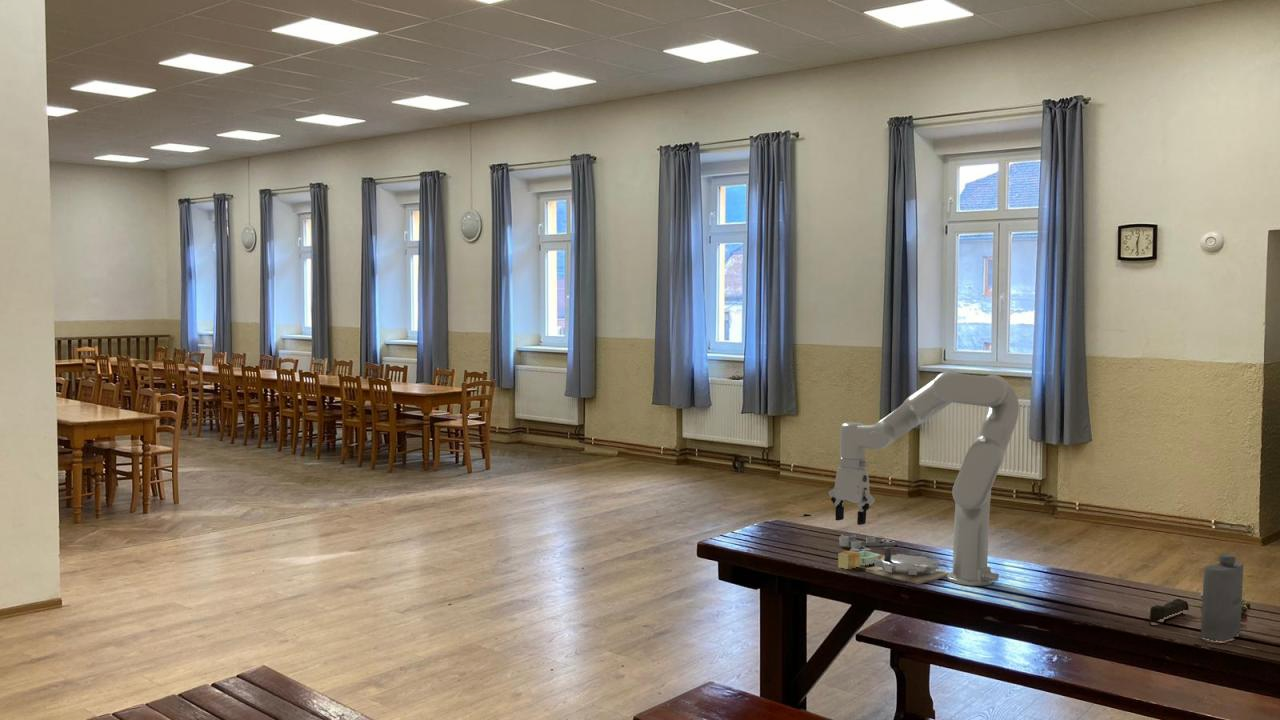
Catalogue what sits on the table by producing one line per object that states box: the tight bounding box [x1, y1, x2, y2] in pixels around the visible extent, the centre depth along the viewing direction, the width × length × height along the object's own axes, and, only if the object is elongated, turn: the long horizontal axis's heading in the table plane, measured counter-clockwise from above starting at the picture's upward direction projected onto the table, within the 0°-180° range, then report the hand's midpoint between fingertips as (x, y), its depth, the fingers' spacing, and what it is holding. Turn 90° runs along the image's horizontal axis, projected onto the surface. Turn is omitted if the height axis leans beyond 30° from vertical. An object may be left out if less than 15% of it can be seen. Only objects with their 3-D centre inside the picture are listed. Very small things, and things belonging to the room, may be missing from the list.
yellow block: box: [837, 550, 861, 570], centre depth 320 cm, size 4×6×5 cm, turn 132°
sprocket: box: [874, 546, 940, 575], centre depth 313 cm, size 18×18×6 cm
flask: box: [1200, 553, 1244, 641], centre depth 256 cm, size 15×6×20 cm, turn 132°
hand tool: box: [1149, 598, 1190, 623], centre depth 271 cm, size 19×4×5 cm, turn 130°
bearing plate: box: [865, 565, 950, 585], centre depth 313 cm, size 18×16×2 cm
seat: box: [859, 550, 882, 567], centre depth 327 cm, size 6×9×2 cm
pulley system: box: [838, 534, 896, 552], centre depth 349 cm, size 27×5×15 cm
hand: (850, 521), depth 319 cm, fingers open, 7 cm apart
